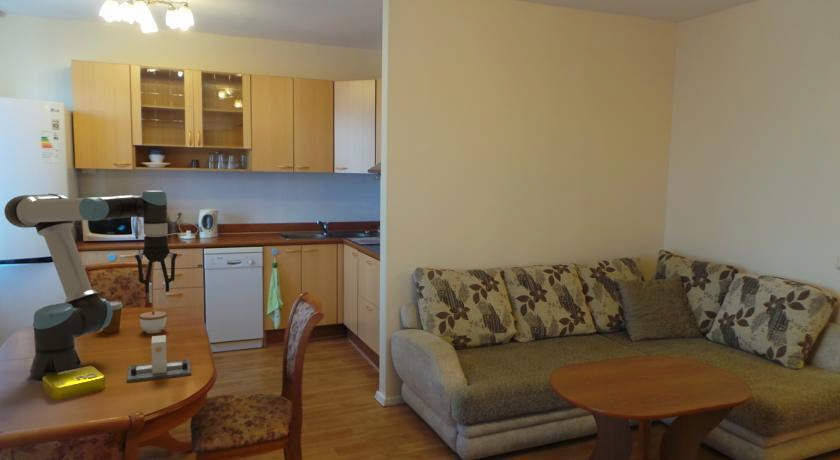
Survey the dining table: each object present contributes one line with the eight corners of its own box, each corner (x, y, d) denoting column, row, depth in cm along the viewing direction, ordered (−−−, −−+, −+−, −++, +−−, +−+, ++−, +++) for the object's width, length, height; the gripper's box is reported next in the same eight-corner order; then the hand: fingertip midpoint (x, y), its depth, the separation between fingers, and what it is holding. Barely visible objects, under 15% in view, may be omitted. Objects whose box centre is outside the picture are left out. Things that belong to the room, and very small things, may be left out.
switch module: (166, 372, 197) (165, 342, 196) (152, 374, 195) (151, 343, 194) (166, 364, 205) (165, 335, 204) (152, 366, 204) (152, 336, 202)
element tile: (92, 376, 196) (91, 363, 195) (107, 389, 186) (106, 375, 185) (41, 388, 185) (40, 374, 185) (54, 402, 175) (53, 387, 174)
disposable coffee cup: (94, 331, 246) (92, 304, 245) (114, 326, 255) (113, 300, 254) (107, 334, 242) (106, 307, 241) (128, 329, 250) (127, 302, 249)
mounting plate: (126, 382, 190) (126, 374, 190) (129, 368, 203) (129, 361, 203) (190, 374, 199) (190, 367, 198) (189, 362, 211) (189, 354, 211)
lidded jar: (159, 335, 243) (159, 314, 242) (135, 334, 243) (134, 313, 242) (171, 328, 253) (170, 308, 252) (147, 327, 254) (147, 307, 253)
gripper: (181, 233, 202) (183, 297, 205) (129, 234, 195) (131, 300, 198) (182, 235, 195) (184, 302, 198) (127, 237, 189) (130, 305, 191)
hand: (157, 301), depth 198 cm, fingers open, 4 cm apart
